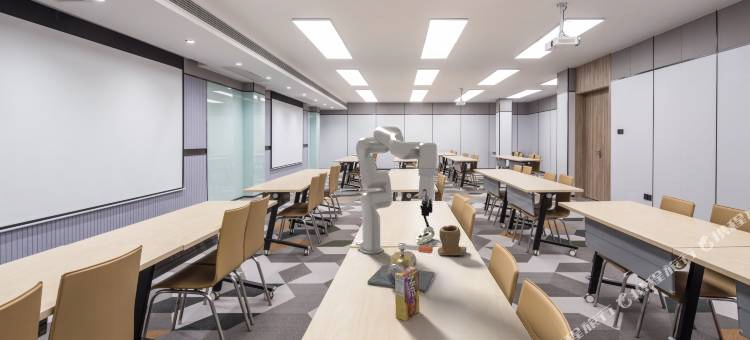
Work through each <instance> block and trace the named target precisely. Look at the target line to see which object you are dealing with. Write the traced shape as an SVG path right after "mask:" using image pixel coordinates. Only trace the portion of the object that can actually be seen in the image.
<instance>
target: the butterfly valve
mask: <svg viewBox="0 0 750 340" xmlns="http://www.w3.org/2000/svg"><path fill="white" fill-rule="evenodd" d="M419 206H420V207H419V208H420V209H421V206H422V204H420V205H419ZM422 217H423V219H424V222H425V226H426V227H425V228H424V230H423V233H421V234H419V235H417V236H416V240H415V242H416V244H420V245H423V243H424V244H425V243H428V242H430V241H432V240H433V238H434V236H435V235H436V234H435V230H434V227H432V226H430V224H429V222H428V218H427V216H422Z"/></svg>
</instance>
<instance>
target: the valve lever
mask: <svg viewBox="0 0 750 340" xmlns="http://www.w3.org/2000/svg"><path fill="white" fill-rule="evenodd" d="M397 249H398V250H404V251H417V252H418V253H423V254H432V253H433V251H434V250H433V249H434V247H433V245H424V244H420V245H414V244H413V245H411V244H406V243H405V242H404V243H403V242H399V243H398V248H397Z"/></svg>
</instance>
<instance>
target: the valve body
mask: <svg viewBox="0 0 750 340" xmlns="http://www.w3.org/2000/svg"><path fill="white" fill-rule="evenodd" d="M389 259H390V260H389V261H390V262H389V263H390V264H389V265H382V266H381V267H379V268H378V270H377V271H376V272H375V273H374V274H373V275H372V276H371V277H370V278H369V279H368V280H367V285H372V286H373V285H374V286H379V287H385V288H386V287H387V288H392V289H395V274H396V273H398V272H400V271H402V270H404V269H406V268H408V267H414V268H415V266H416V265H417V261H418V260H417V257H416V255H415V253H413V252H412V251H410V250H400V251H395V252H394V254H392V255H391V256H390V258H389ZM435 274H436V273H435V271H428V270H421V269H419V293H424V294H425V293H426V292H427V290H428V288H429V286H430V284H431V282H432V280H433V279H434V276H435Z"/></svg>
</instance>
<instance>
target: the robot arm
mask: <svg viewBox="0 0 750 340" xmlns="http://www.w3.org/2000/svg"><path fill="white" fill-rule="evenodd" d="M404 139H405V138H404V136H403V133H402V131H401V129H400V128H399V127H397V126H378V127H377V128H375V130H373V135H372V136H370V137H369V136H368V137H362V138H360V139H359V140H357V142H356V147H355V152H356V156H357V160H358V164H359V171H360V172H359V173H360V181H361V186H362V187H363V189H365V190H366V189H367V190H371V191H366V192H364V193H362V195H361V196H360V201H359V202H360V207H361V214H362V217H361V218H362V219H361V221H362V229H361V231H362V240H361V241H360V240H356V241H355V245H356V246H359V252H361V253H363V254H369V255H372V254H373V255H374V254H380V253H382V252H383V251H384V247H383V246H382V245H381V215H380V214H379V212H378V211H377V210H379V209H386V208H389V207H391V205H392V203H393V193H392V184H391V177H390V175H389V173H388V172H387V171H386V170H383V169H381V170H380V169H379V170H378V169H377V167H376V160H375V159H374V157H373V156H372V155H373V154H386V153H388V152H390V154H391V155H392V156H394V157H396V158H398V159H399V160H402V161H403V160H404V161H407V160H418V176H419V182H418V184H419V185H418V199H419V200H421V205H422V206H421V205H420V206H421V208H420V210H421V211H420V212H421V216H422V217H423V216H426V217H429V216H430V214H432V213H433V205H434V204H433V197H434V196H435V177H437V165H438V164H437V163H438V161H437V160H438V159H437V157H438V156H437V155H438V148H437V147H438V146H437V144H436V143H435V142H423V141H405V140H404ZM371 154H372V155H371ZM372 189H378V190H372Z"/></svg>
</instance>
